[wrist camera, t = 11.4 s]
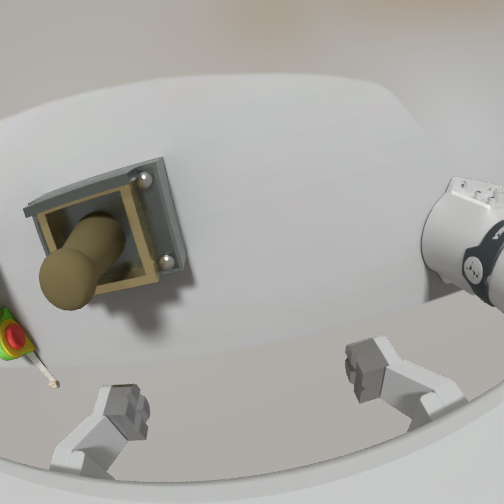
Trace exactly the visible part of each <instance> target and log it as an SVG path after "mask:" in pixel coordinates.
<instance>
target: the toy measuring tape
mask: <svg viewBox="0 0 504 504" xmlns="http://www.w3.org/2000/svg"><path fill="white" fill-rule="evenodd" d="M34 350H35V346H34V345H33V343H32V342H31V340H30V339H29V337H28V336H27V335H26V333H25V332H24V330H23V329H22V327H21V326H20V325H19V324H18V323H17V322H16V321H15V320H14V318H13V317H12V315H11V313H10V312H9V310H8V308H4V309H1V310H0V358H1V359H3V360H6V361H9V360H13V359H17V358H19V357H21V356H22V355H25V354H26V355H27V356H28V358H30V360H31V361H33V362H34V363H35V364H36V365H37V366H38V368H39V369H40V370H41V371H42V372H43V374H44V375H45V376H46V377H47V378H48V379H49V383H48V384H49V387H50V388H59V386H60V384H59V381H56V379H55V378H54V377H53V376H52V375H51V373H50V372H49V371H48V370H47V369H46V368H45V366H44V365H43V364H42V362H41V361H40V360H39V359H38V358H37V356H36V355H35V353H34V352H33V351H34Z"/></svg>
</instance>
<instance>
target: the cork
mask: <svg viewBox="0 0 504 504" xmlns="http://www.w3.org/2000/svg"><path fill="white" fill-rule="evenodd" d="M124 245H125V237H124V233H123V230H122V227H121V226H120V225H119V223H118V222H117V221H116V220H115V219H114V218H113V217H111V216H110V215H108V214H105V213H102V212H92V213H90V214H87V215H85V216H84V217H83V218H82V219H80V221H79V222H78V224H77V225H76V227H75V228H74V230H73V231H72V233H71V234H70V236H69V238H68V239H67V241H66V242H65V244H64V245H63V247H62V248H61V249H58V250H55V251H53V252H52V253H51V254H50V255H48V256H47V257H46V258H45V259H44V261H43V264H42V266H41V268H40V273H39V281H40V286H41V290H42V292H43V294H44V296H45V297H46V298H47V299H48V300H49V302H50V303H52V304H53V305H54V306H56V307H58V308H60V309H63V310H70V311H72V310H77V309H81V308H82V307H84V306H85V305H86V304H88V303H89V302H90V300H91V299H92V297H93V295H94V293H95V291H96V285H97V279H98V278H99V277H100V276H101V275H102V274H103V273H104V272H105V271H106V270H107V269H108V268H109V267H110V266H111V265H112V264H113V263H114V262H115V261H116V260H117V259H118V258H119V257H120V255H121V254H122V252H123V249H124Z"/></svg>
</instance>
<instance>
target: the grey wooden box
mask: <svg viewBox="0 0 504 504" xmlns="http://www.w3.org/2000/svg"><path fill="white" fill-rule="evenodd" d="M28 205H29V206H27V207H25V208H23V210H24V214H25V217H26V218H28V217H30V216H32V217H33V220H34V223H35V226H36V229H37V232H38V235H39V238H40V240H41V243H42V246H43V248H44V251H45V254H46V256H48V255H50V254H51V253H52V252H53V251H55V250H58V249H61V248H62V247H63V245H64V244H65V242H66V241H67V239H68V238H69V236H70V234H71V233H72V231H73V230H74V228H75V227H76V225H77V224H78V222H79V221H80V219H82V218H83V217H84V216H85V215H87V214H90V213H92V212H102V213H105V214H108V215H110V216H111V217H113V218H114V219H115V220H116V221H117V222H118V223H119V225H120V226H121V227H122V230H123V233H124V237H125V245H124V249H123V252H122V254H121V255H120V257H119V258H118V259H117V260H116V261H115V262H114V263H113V264H112V265H111V266H110V267H109V268H108V269H107V270H106V271H105V272H104V273H103V274H102V275H101V276H100V277H99V278H98V279H97V285H96V291H95V293H94V295H98V294H103V293H107V292H112V291H117V290H122V289H127V288H132V287H137V286H141V285H146V284H151V283H156V282H159V278H160V275H164V274H169V273H174V272H178V271H183V270H184V269H185V260H186V253H187V252H186V248H185V244H184V241H183V237H182V233H181V230H180V226H179V222H178V218H177V214H176V210H175V206H174V202H173V198H172V194H171V190H170V186H169V182H168V177H167V173H166V169H165V164H164V160H163V157H159V158H156V159H152V160H148V161H144V162H141V163H137V164H134V165H130V166H127V167H123V168H120V169H117V170H113V171H110V172H107V173H104V174H100V175H97V176H94V177H91V178H88V179H85V180H82V181H79V182H76V183H74V184H71V185H68V186H65V187H62V188H60V189H57V190H54V191H52V192H49V193H47V194H45V195H43V196H41V197H39V198H37V199H35V200H34V201H32V202H30V203H28Z"/></svg>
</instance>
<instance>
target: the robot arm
mask: <svg viewBox="0 0 504 504" xmlns="http://www.w3.org/2000/svg"><path fill="white" fill-rule="evenodd" d="M422 253H423V257H424V260H425V262H426V264H427V266H428V267H429V268H430V269H432V270H433V271H435V272H437V273H438V274H439V275H440V278H441V279H442V281H443V282H445V283H446V284H449V283H451V282H452V283H454V284H455V285H457V286H458V287H460V288H461V289H463V290H465V291H466V292H468V293H470V294H471V295H477V296H478V297H479V298H480V299H481V300H482V301H483V302H485V303H487V304H489V305H490V306H492V307H497V308H498V309H499V310H500V311H501V312H502V313H504V189H503V187H502V186H500V185H497V184H492V183H487V182H483V181H477V180H472V179H467V178H462V177H454V178H453V179H452V180H451V182H450V184H449V186H448V188H447V191H446V193H445V194H444V195H443V197H442V198H441V199H440V200H439V201H438V202H437V203H436V205H435V206H434V208H433V209H432V211H431V213H430V215H429V217H428V219H427V221H426V224H425V227H424V231H423V237H422ZM345 352H346V354H347V359H346V360H345V368H346V373H347V376H348V379H349V381H350V383H352V384H354V392H355V395H356V397H357V399H358V401H359V403H363V402H366V401H370V400H373V399H376V398H379V397H380V398H381V399H382V400H384V401H385V402H387V403H388V404H390V405H391V406H393V407H394V408H396V409H397V410H399V411H401V412H402V413H403V414H405V415H407V416H408V417H410V418H411V419H412V422H411V424H410V426H409V429H408V431H407V433H405V434H403V435H400V436H398V437H395V438H393V439H390V440H388V441H386V442H383V443H380V444H377V445H374V446H372V447H369V448H366V449H363V450H360V451H357V452H354V453H351V454H348V455H344V456H341V457H338V458H334V459H331V460H327V461H323V462H319V463H315V464H311V465H307V466H302V467H298V468H293V469H289V470H284V471H279V472H273V473H267V474H261V475H255V476H248V477H240V478H231V479H221V480H210V481H193V482H137V481H120V480H115V479H114V478H113V477H112V476H111V475H109V474H108V473H107V472H106V471H107V470H108V469H109V467H110V466H111V464H112V463H113V462H114V460H115V459H116V458H117V456H118V455H119V454H120V452H121V451H122V449H123V448H124V447H125V445H126V444H127V443H128V441H131V440H146V438H147V431H148V426H147V425H146V423H145V422H146V421H147V420H148V419H149V416H150V407H149V404H148V402H147V399H146V398H145V397H144V396H143V395H141V394H140V389H139V387H138V386H137V385H136V384H126V385H105V386H104V385H103V386H102V387H101V388H100V391H99V394H98V398H97V400H96V404H95V407H94V410H93V413H92V415H89V416H88V417H87V418H86V419H85V420H84V421H83V422H82V423H81V424H80V425H79V426H78V427H76V428H75V429H74V430H73V431H72V432H71V433H70V434H69V435H68V436H67V437H66V438H65V439H64V440H63V441H62V442H61V443H60V444H59V445H58V446H57V447H56V448H55V452H54V455H53V458H52V462H51V466H50V469H49V470H46V469H41V468H37V467H33V466H29V465H26V464H22V463H18V462H15V461H11V460H8V459H5V458H2V457H0V504H504V380H503V381H502V382H500V383H499V384H497V385H496V386H494V387H493V388H491V389H490V390H488V391H486V392H485V393H483V394H482V395H480V396H478V397H477V398H475V399H473V400H471V401H470V402H468V400H467V399H466V397H465V396H464V394H463V393H462V392H461V390H460V389H459V387H458V386H457V385H456V383H455V382H454V380H451V379H449V378H447V377H444V376H442V375H440V374H437V373H435V372H433V371H430V370H428V369H426V368H423V367H421V366H418V365H416V364H414V363H412V362H409V361H407V360H403V361H402V360H401V359H400V357H399V356H398V354H397V352H396V351H395V350H394V348H393V347H392V345H391V344H390V342H389V341H388V339H387V338H386V336H385V335H383V334H381V335H378V336H374V337H371V338H368V339H365V340H362V341H359V342H355V343H352V344H348V345H347V346H346V351H345Z"/></svg>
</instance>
